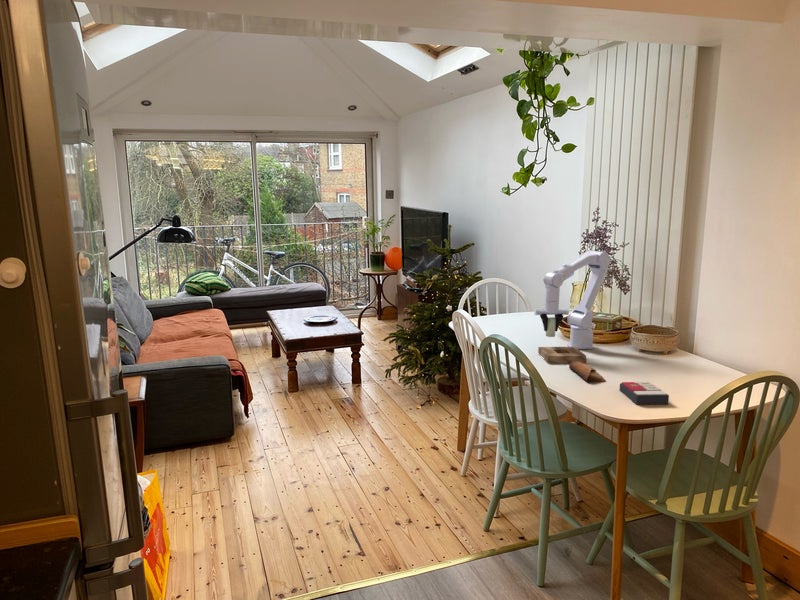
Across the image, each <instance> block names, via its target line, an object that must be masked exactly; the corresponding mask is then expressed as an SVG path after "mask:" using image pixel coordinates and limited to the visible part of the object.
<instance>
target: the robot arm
mask: <svg viewBox="0 0 800 600" xmlns="http://www.w3.org/2000/svg"><path fill="white" fill-rule="evenodd" d="M610 263H611V258H610V254H609V253H608V252H606V251H598V250H593V249H589V250H587V251H585V252H584V253H583V254H582V255H581V256H580V257H579V258H578V259H576V260H575V261H573V262H572V263H571V264H569V263H563V264H562V265H561V266H560V267H558V268H557V269H554V271H552V272H551V271H549V272H547V273H546V274H545V276H544V278H543V279H542V280H543V283H544V288H545V303H544V305H545V306H544V308H543V309H534V315H535V316H539V318H541V322H542V325H543V330H544V332H546V331H547V322H548V317H549V316H548V315H550V316H551V315H553V316H554V317H555V318H556V329H555V332H558V331H559V326H560V324H561V322H562V321H563V319H564V315H565V316H566V315H567V322H568V324H569V327H570V336H569V337H570V338H569V343H566V345H567V347H576V348H577V349H578V350H593V349H594V347H593V346H594V345H593V344H594V330H593V329H592V327H591V326H592V323H593V317H594V313H593V312H592V307H593V306H594V303H595V301H596V298H597V296H598V293H599V291H600V289H601V287H602V285H603V282H604V280H605V278H606V275H607V273H608V272H607V271H608V268H609V265H610ZM585 266H588V267H589V269H590V270H591V272H592V274H591V276H590V278H589V281H588V284H587V286H586V288H585V290H584V291H583V295H582V296H581V299H580V301H579V304H578V305H576V306H574V307H573V308H572V310H571V311H569V310H568V309H560V292H561V291H560V289H561V286H562V285H563V284H564V282H565V281H566V280H568V279H570V278H571V277H573V276H574V275H575V272H576V271H578V270H579V269H581V268H583V267H585Z"/></svg>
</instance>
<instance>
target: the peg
mask: <svg viewBox="0 0 800 600" xmlns="http://www.w3.org/2000/svg"><path fill="white" fill-rule="evenodd" d="M547 317H548V322H547V331H545V337H546V338H547V337H548V338H554V337H556V331H555V329H556V318H555V316H547Z"/></svg>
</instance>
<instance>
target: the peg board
mask: <svg viewBox="0 0 800 600" xmlns="http://www.w3.org/2000/svg"><path fill="white" fill-rule="evenodd" d="M537 352H538V353H539V354H540V355H541V356H542V357H543V358H544V359H543V358H542V357H541V356H540V355H539V354H538V353H537V354H538V355H539V356H540V357H541V358H542V359H543V360H544V361H545V362H546V363H547V364H570V363H571V362H572V361H577V362H581V363H584V364H586V362H587V355H586V354H585V353H583V351H581V349H577V348H576V347H569V346H542V347H541V346H538V349H537Z"/></svg>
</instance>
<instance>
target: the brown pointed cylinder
mask: <svg viewBox="0 0 800 600" xmlns="http://www.w3.org/2000/svg"><path fill="white" fill-rule="evenodd" d="M568 368H569V369H570V370H571V371H573V372H575V373H576V374H577V375H578V376H580V377H581V378H582V379H583V380H585V381H586V382H587V383H588V384H595V383H596V384H598V383H599V384H600V383H607V380H606V379H605V378H604V377H603V376H602V375H601V374H599V372H597V370H596V369H595V368H593V367H592V366H589V365H588V364H586V363H581V362H577V361H572V362H571V363H569V366H568Z"/></svg>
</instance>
